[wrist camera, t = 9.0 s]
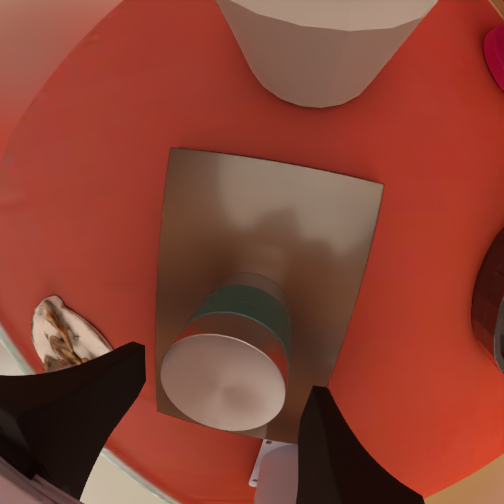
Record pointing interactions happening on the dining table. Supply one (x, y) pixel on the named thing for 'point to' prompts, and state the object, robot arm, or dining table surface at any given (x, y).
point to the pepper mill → (495, 53)
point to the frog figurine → (64, 336)
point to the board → (265, 257)
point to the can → (320, 43)
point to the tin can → (232, 355)
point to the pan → (491, 304)
